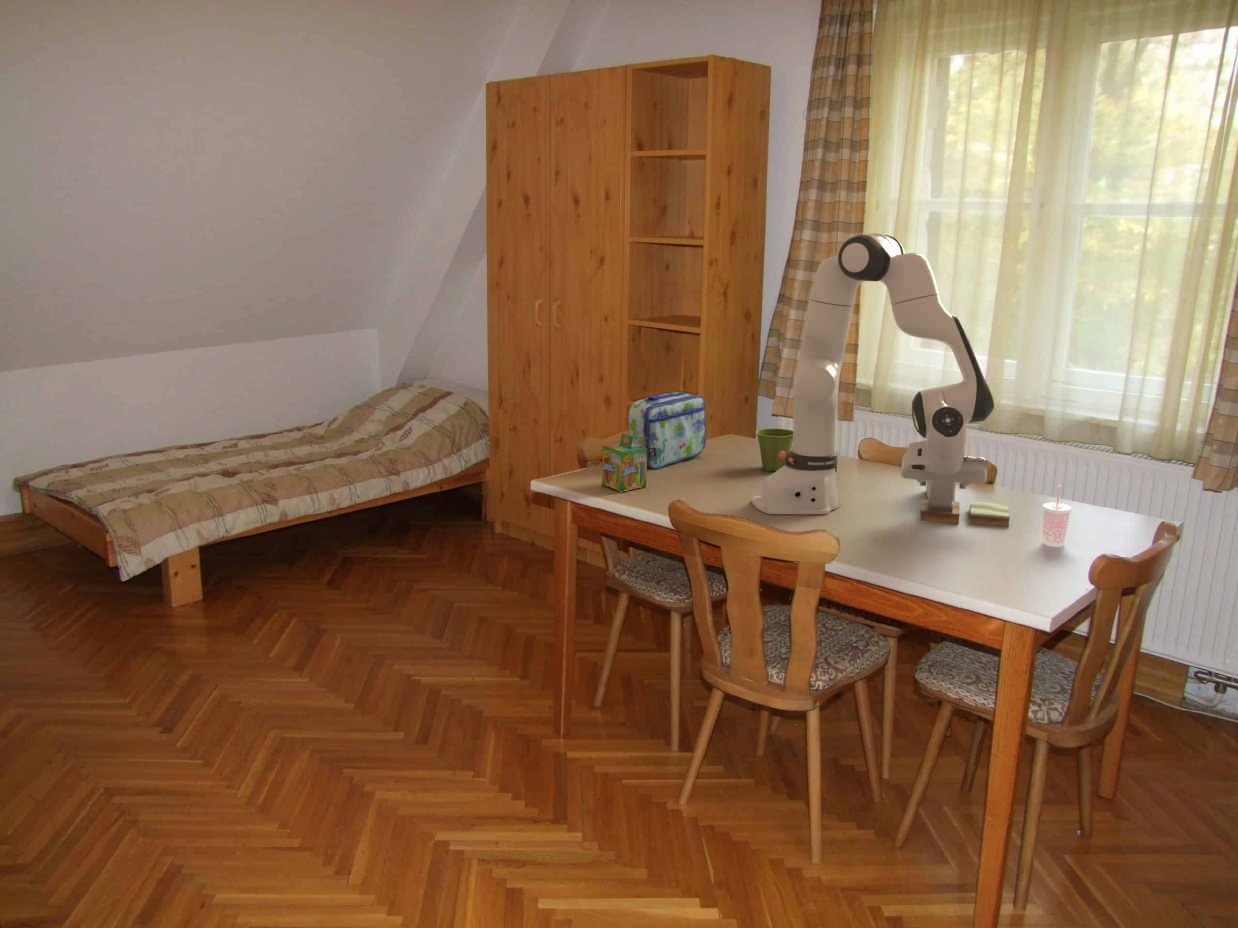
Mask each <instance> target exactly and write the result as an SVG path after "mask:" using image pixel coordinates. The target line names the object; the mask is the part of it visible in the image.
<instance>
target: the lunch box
mask: <svg viewBox="0 0 1238 928" xmlns="http://www.w3.org/2000/svg"><path fill="white" fill-rule="evenodd" d="M705 406H706V405H705V399H704V397H703V396H702V395H700V394H692V393H685V392H679V391H677V392H669V393H664V394H659V395H653V396H650V395H647V397H645V398H643V399H639V400H637V401H635V402H633V404H631V406H630V409H629V412H628V435H631V436H633V440H632V443H633V444H636V445H639V446H642V447H645V448H646V449H647V467H649V468H651V469H652V470H657V469H661V468H663V467H665V466H666V467H667V466H669V465H671V464H675V463H679V462H682V461H685V460H689V459H693V458H694V457H699V456H700V455H701V454H702V453H703V452H704V449H705V446H706V440H707V439H706V437H707V430H706V407H705Z"/></svg>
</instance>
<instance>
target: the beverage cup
mask: <svg viewBox="0 0 1238 928" xmlns="http://www.w3.org/2000/svg"><path fill="white" fill-rule="evenodd" d="M1060 493H1061V484H1058V486H1057V493H1056V502H1046V503H1043V504H1042V510H1043V518H1042V519H1043V522H1042V523H1043V524H1042V544H1044V545H1045V546H1048V547H1054V548H1061V547H1063V546H1065V541H1066V540H1065V539H1066V535H1067V530H1068V526H1069V525H1068V524H1069V519H1070V514H1071V512H1072V507H1071V505H1069V504H1065V503H1060V495H1061V494H1060Z"/></svg>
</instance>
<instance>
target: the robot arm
mask: <svg viewBox="0 0 1238 928" xmlns="http://www.w3.org/2000/svg"><path fill="white" fill-rule="evenodd" d="M818 265H819V266H818V268H817V270H816V273H815V275H814V279H813V283H812V285H811V286H812V287H811V289H810V294H809V300H808V304H807V309H806V316H805V321H804V326H803V327H804V328H803V333H802V338H801V339H802V340H801V345H800V352H799V356H798V357H799V358H798V363H797V368H796V371H795V374H794V378H793V425H792V426H793V427H792V430H793V443H792V449H791V452H789V453H786V452H785V451H781V453H779V455H780V456H779V457H780V458H782V459H783V460H785V465H784V466H783V467H781V468H780V469H779V470H777V471H774V472H773V473H772V474H770V475H769V476H768V477H767V478H765V480H764V481H763V483H762V487H761V492H760V493H761V494H760V495H754V496H753V498H752V505H753V506H754V507H755V508H756V509H757V510H758V511H761V512H762V513H764V514H767V515H828V514H829V513H830V512H831V511H833V510H837V509H838V508H839V507H840V501H839V497H838V490H837V481H836V479H837V478H836V477H837V476H836V473H837V469H838V452H837V435H838V434H837V433H838V432H837V431H838V410H839V389H840V388H839V387H840V376H841V372H842V366H843V361H844V357H845V351H846V347H847V343H848V337H849V333H850V332H849V331H850V327H851V322H852V317H853V312H854V308H855V301H856V295H857V291H858V288H859V286H861V284H862V283H863V282H881V283H883V284H884V285H885V286H886V288H887V291H888V295H889V301H890V305H891V309H892V310H891V311H892V315H893V318H894V321H895V324H896V326H897V327H898V328H899V330H901V332H903V334H906V335H907V336H910V337H913V338H918V339H923V340H931V341H936V342H937V341H938V342H940V343H943V344H945V345H947V347H949V348H950V350H951V352H952V354H953V356H954V357H955V360H956V363H957V366H958V368H959V371H960V373H961V375H962V381H961V382H956V383H953V384H947V385H944V386H936V387H932V388H927V389H923V390H919V391H918V392H917V393H915V396H914V398H913V399H912V401H911V417H912V423H913V426H914V429H915V430H916V432H917V433H918V434H919V435H920V436H921V437H922V438H923V439H926V440H923V441H922V440H921V441H915V442H910V443H908V446H907V450H906V452H904V455H903V457H902V462H901V470H900V471H901V473H900V476H901V477H902V478H903V479H907V480H915V481H916V482H918V483H919V486H920V487H926V485H927V480H935V481H948V482H956V483H959V486H958V487H959V489H960V490H966V487H967V486H969V485H971V484H977V485H979V484H980V485H982V484H983V485H984V484H985V483H986V482H987V481H988V480H987V478H988V470H989V469H990V467H991V461H990V460H988V459H985V458H984V457H983V456H982V457H981V456H971V455H965V454H966V443H967V426H966V425H967V423H968V424H973V423H981V422H984V421H986V419H987V418H988V417H989V416H990V415H991V414H992V412H993V410H994V409H995V398H994V396H993V393H992V391H991V389H990V387H989V385H988V383H987V381H986V379H985V377H984V375H983V372H982V369H981V367H980V365H979V362H978V359H977V357H976V355H975V352H974V350H973V347H972V344H971V342H970V339H969V337H968V335H967V332H966V330H965V328H964V326H963V324H962V322H961V319H959V317H958V316H957V315H956V314H952V313H949V311H947V309H946V308H945V306H944V305H943V303H942V301H941V298H940V294H939V289H938V286H937V282H936V278H935V275H934V272H933V270H932V268H931V265H930V262H929V260H928V259H927V258H926V256H925V255H923V254H920V253H917V252H908V253H906V251H905V248H904V246H903V245H902V243H901V242H900V241H899V240H898V239H897V238H895V237H893V236H891V235H888V234H880V233H867V234H858V235H854V236H852V237H850V238H848V239H847V240H846V241H844V243H843V244H842V245H841V247H840V249H839V250H838V255H836V256H830V257H827V258H824V259H823V260H822V261H821V262H820V263H819V264H818Z"/></svg>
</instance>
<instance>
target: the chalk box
mask: <svg viewBox="0 0 1238 928" xmlns="http://www.w3.org/2000/svg"><path fill="white" fill-rule="evenodd" d="M625 439H627V440H628V442H627V441H626V442H625ZM632 440H633V436H631V435H629V434H627V433H622V434H621V437H620V442H619V443H615V444H609V445H603V446H602V470H601V473H602V474H601V475H602V476H601V477H602V478H601V482H602V483H601V485H604V486H603V487H605V486H607V487H606V488H608V487H611V488H614V489H617V490H620V491H624V490H631V489H636V488H641V489H643V488H642V487H646V488H647V467H648V465H647V449H646V448H645V447H642V446H639V445H636V444H633V443H632ZM611 488H610V489H611ZM636 490H637V489H636ZM631 491H632V490H631Z"/></svg>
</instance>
